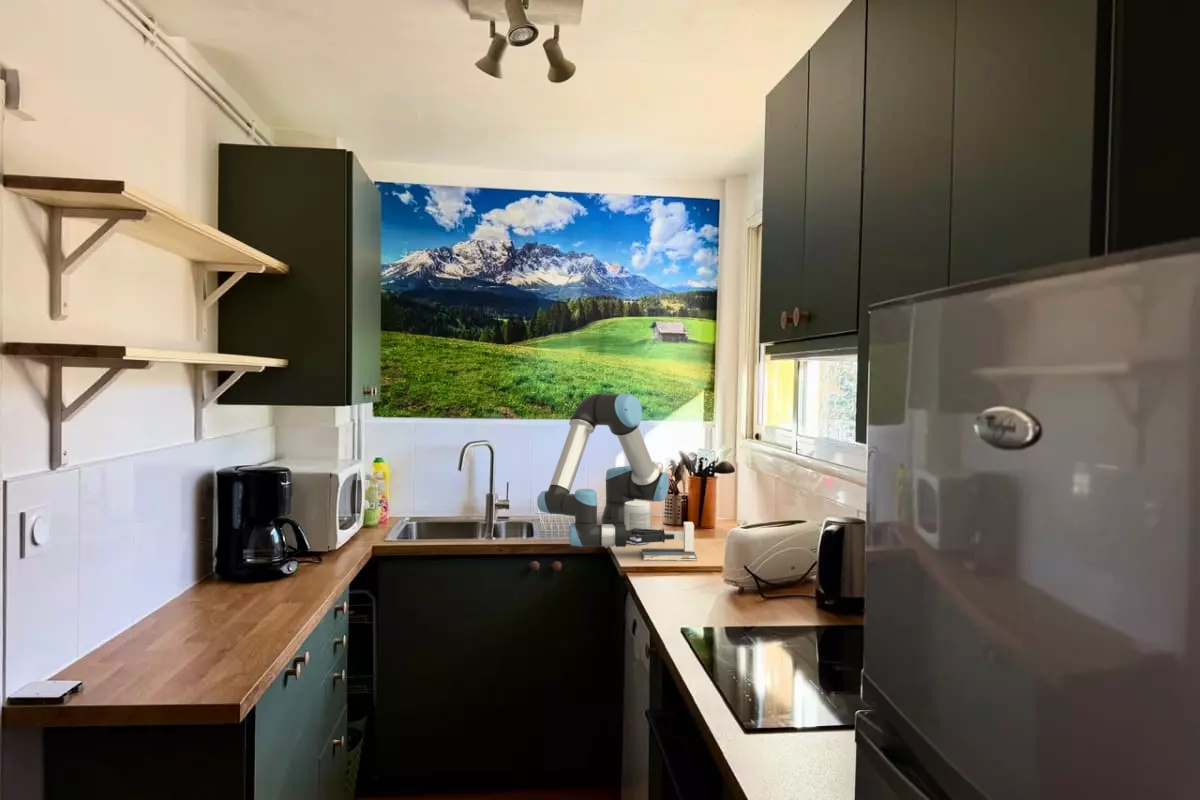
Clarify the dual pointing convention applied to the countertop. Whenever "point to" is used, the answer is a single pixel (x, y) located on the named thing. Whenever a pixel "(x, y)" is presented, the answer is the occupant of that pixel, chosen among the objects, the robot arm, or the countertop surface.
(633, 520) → the supplement tub
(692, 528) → the switch tab
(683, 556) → the switch housing
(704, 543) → the countertop surface
